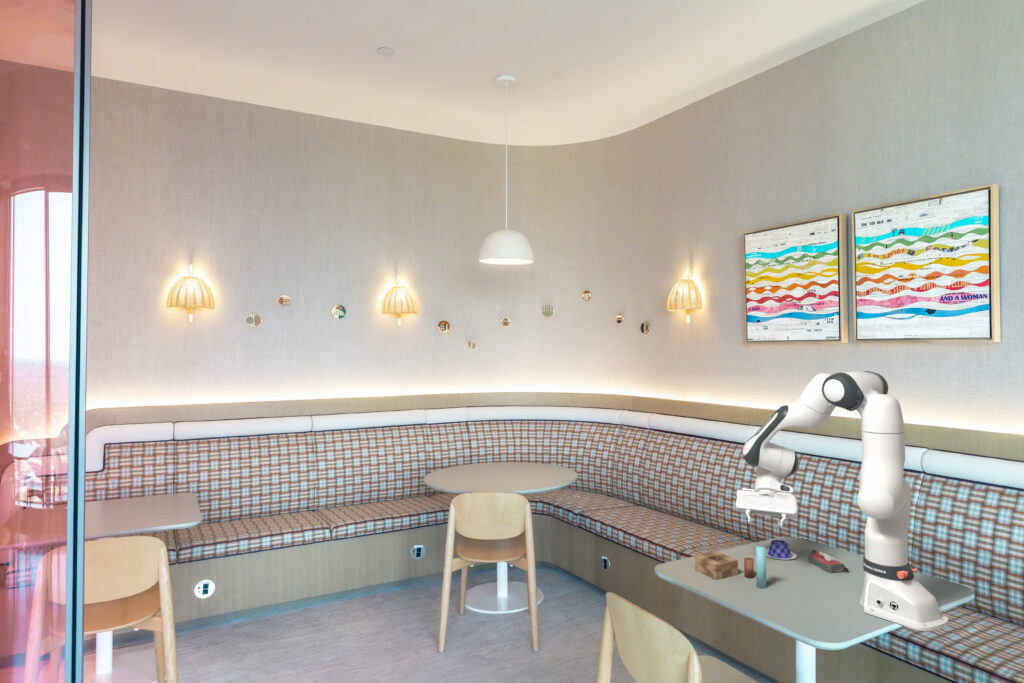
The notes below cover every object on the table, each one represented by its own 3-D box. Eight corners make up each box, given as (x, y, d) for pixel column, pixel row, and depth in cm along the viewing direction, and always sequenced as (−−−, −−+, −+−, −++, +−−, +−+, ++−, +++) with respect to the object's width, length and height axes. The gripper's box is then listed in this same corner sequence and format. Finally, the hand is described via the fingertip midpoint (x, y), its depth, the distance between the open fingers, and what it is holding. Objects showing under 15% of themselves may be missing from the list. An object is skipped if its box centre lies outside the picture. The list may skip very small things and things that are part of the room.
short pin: (755, 577, 208) (755, 559, 208) (749, 579, 206) (749, 561, 206) (748, 574, 210) (748, 557, 210) (742, 575, 209) (742, 558, 209)
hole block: (738, 574, 210) (737, 560, 210) (715, 580, 206) (715, 565, 206) (716, 565, 219) (716, 551, 219) (695, 570, 215) (695, 555, 215)
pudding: (794, 563, 220) (794, 549, 220) (759, 557, 227) (758, 543, 227) (799, 553, 230) (799, 539, 230) (765, 548, 237) (765, 534, 237)
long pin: (768, 587, 199) (767, 547, 199) (761, 589, 198) (761, 549, 198) (761, 584, 202) (760, 545, 202) (754, 585, 201) (753, 546, 200)
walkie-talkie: (854, 573, 210) (815, 553, 230) (854, 560, 210) (814, 542, 230) (831, 576, 209) (794, 555, 228) (831, 563, 209) (794, 544, 228)
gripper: (736, 482, 222) (732, 516, 213) (798, 488, 212) (796, 524, 203) (738, 492, 226) (734, 525, 217) (799, 498, 216) (797, 533, 207)
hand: (764, 525), depth 210 cm, fingers open, 8 cm apart
